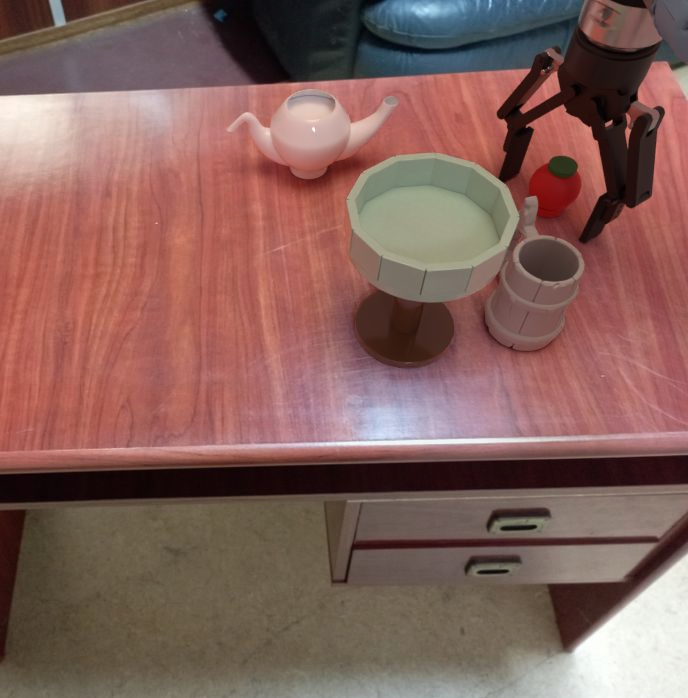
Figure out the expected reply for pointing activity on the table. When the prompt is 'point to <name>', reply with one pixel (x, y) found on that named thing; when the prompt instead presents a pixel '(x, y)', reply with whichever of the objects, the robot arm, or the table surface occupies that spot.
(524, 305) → the mug
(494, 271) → the dish
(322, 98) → the teapot
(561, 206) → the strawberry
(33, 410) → the table surface
